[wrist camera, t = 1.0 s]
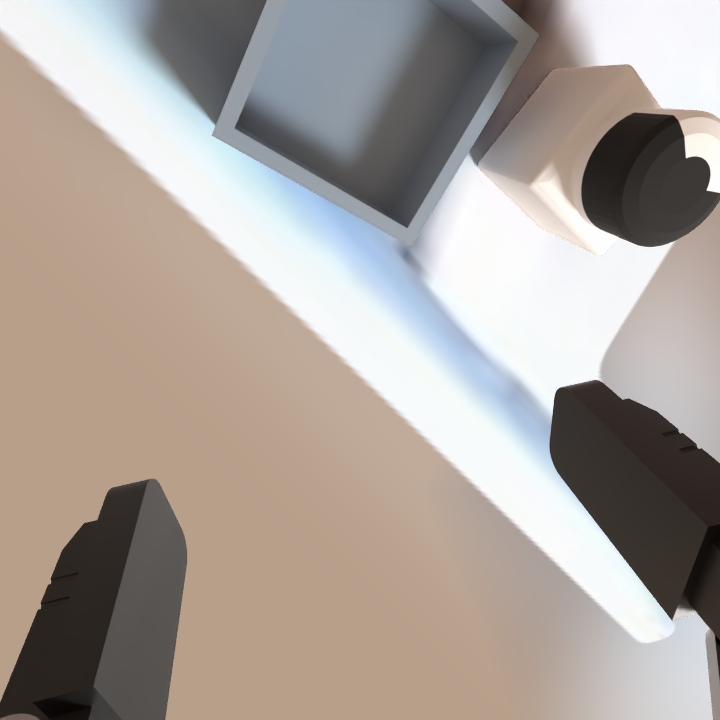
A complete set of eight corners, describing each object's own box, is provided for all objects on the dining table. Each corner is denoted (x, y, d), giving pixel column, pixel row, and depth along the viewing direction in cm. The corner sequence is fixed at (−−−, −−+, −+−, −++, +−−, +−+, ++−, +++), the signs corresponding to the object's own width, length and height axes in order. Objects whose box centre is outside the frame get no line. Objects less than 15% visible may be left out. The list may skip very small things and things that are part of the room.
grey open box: (314, -111, 23) (330, -155, 19) (495, 42, 28) (539, 35, 24) (217, 127, 27) (211, 135, 23) (389, 225, 32) (411, 246, 28)
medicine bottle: (539, 229, 34) (661, 289, 24) (473, 165, 31) (582, 203, 21) (614, 142, 32) (782, 169, 22) (552, 65, 29) (714, 54, 19)
